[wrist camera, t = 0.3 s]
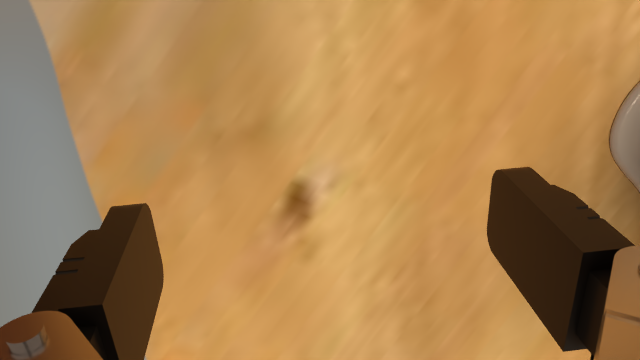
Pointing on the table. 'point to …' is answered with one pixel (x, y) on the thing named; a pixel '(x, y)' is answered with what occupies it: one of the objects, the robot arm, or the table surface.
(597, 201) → the table surface
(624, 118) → the mannequin bust
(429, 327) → the table surface
